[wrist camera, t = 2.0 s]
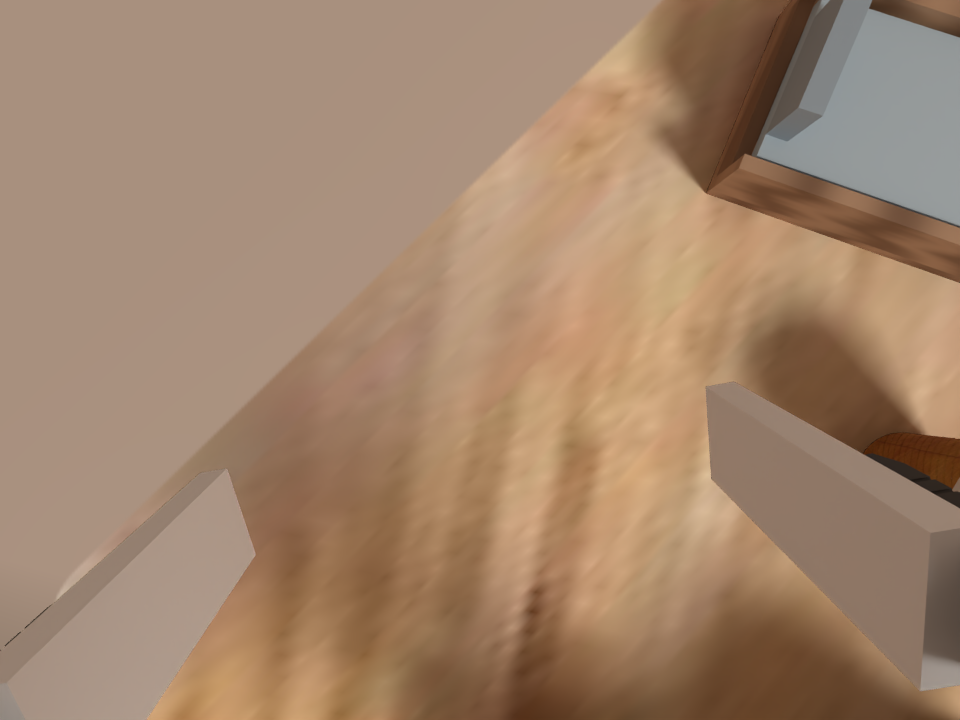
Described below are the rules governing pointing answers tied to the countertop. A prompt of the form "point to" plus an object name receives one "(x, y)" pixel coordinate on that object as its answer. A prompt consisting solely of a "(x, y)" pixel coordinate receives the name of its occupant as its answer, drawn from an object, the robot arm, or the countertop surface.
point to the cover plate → (871, 109)
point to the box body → (815, 203)
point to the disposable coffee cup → (923, 455)
